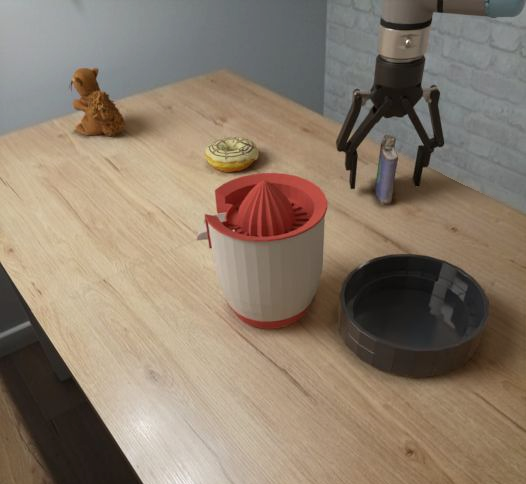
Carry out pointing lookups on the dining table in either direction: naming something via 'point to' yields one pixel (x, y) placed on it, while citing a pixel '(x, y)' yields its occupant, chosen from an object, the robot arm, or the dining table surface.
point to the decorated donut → (231, 154)
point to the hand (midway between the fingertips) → (383, 184)
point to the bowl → (412, 314)
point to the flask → (386, 170)
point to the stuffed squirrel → (95, 106)
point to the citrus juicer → (267, 246)
